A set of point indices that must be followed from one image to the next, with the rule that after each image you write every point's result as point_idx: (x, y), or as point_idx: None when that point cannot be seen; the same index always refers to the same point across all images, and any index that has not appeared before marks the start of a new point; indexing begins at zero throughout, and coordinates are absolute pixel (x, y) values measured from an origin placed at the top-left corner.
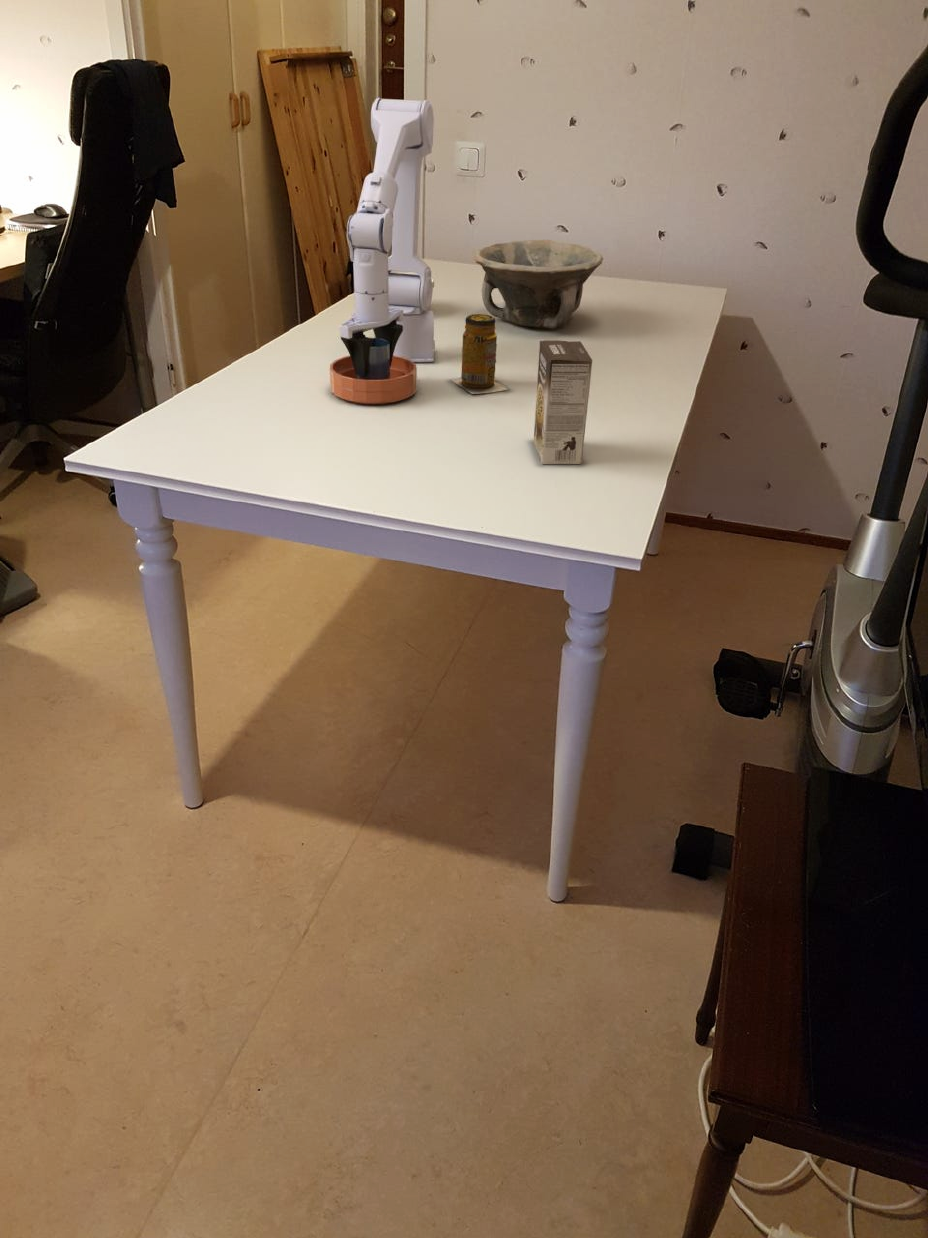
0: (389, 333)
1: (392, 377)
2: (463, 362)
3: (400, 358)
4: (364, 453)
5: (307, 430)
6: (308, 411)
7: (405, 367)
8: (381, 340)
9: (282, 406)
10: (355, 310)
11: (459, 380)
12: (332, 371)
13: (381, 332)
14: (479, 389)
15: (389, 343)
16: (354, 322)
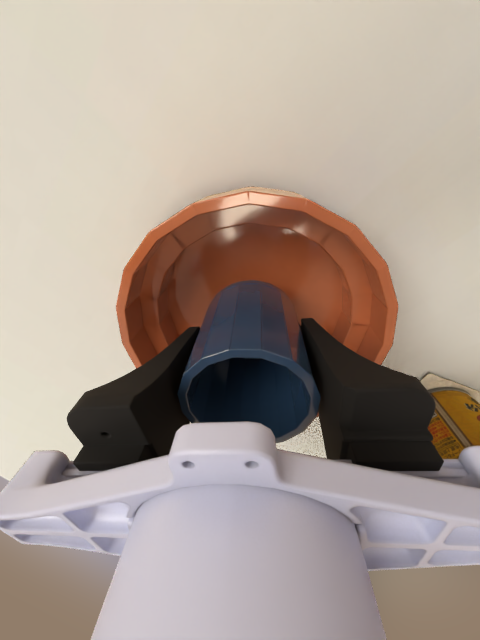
0: (328, 448)
1: (342, 297)
2: (437, 446)
3: (382, 339)
4: (80, 444)
5: (27, 359)
6: (58, 296)
7: (364, 344)
8: (308, 396)
9: (4, 228)
10: (109, 588)
11: (435, 383)
12: (119, 295)
13: (332, 413)
14: None
15: (287, 439)
16: (86, 533)
